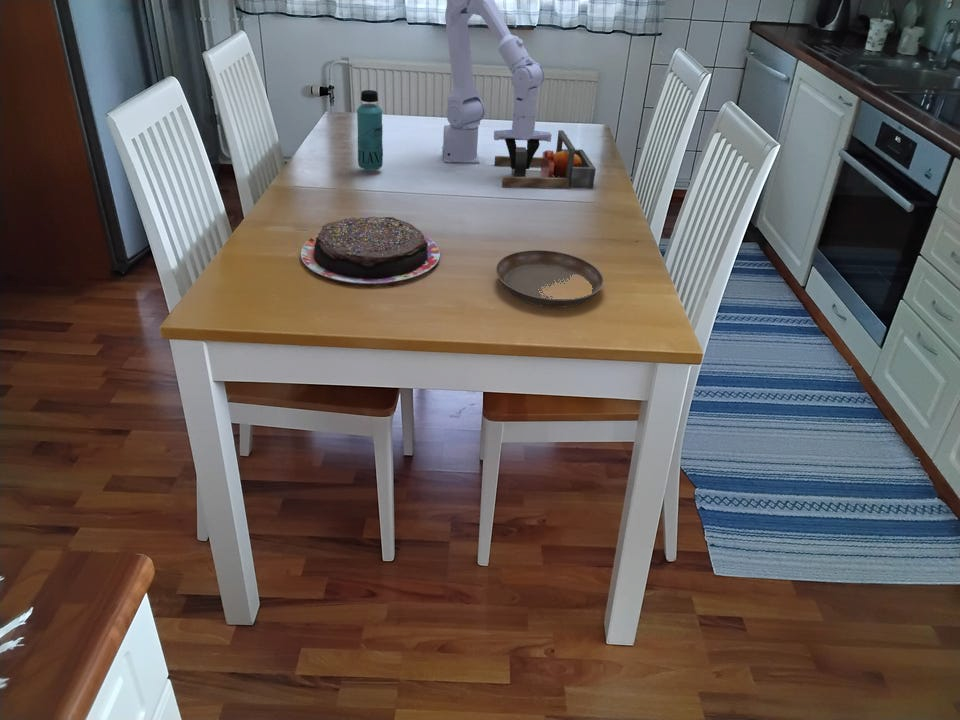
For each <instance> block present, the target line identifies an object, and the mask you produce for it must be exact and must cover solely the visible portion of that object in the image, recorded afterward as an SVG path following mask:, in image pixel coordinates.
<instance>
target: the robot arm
mask: <svg viewBox="0 0 960 720" xmlns="http://www.w3.org/2000/svg"><path fill="white" fill-rule="evenodd" d="M444 13H445V14H444V17H445V18H444V19H445V27H446V36H447V46H448V53H449V61H450V63H449V64H450V70H451V80H452V81H451V82H452V91H451V92H450V93H449V95H448V97H447V99H446V100H447V106H446V111H445V113H446V118H447V119H446V120H447V121H448V123H449V124H446V125H444V126H443V136H442V137H443V140H442V141H443V142H442V144H443V145H442V147H441V148H442V151H441V153H442V156H443V161H444V162H445V163H466V164H470V163H471V164H479V163H480V158H479V156H478V140H479V126H480V125H481V121H482V120H483V119H484V118H485V115H486V108H485V104H484V102H483V100H482V99H483V98H482V94H481V91H479V90H478V88H476V87H475V81H474V72H473V63H472V62H473V61H472V54H471V53H472V52H471V51H472V50H471V45H470V44H471V41H470V34H469V33H470V31H469V23H468V22H469V21H470V19H471V18H472V16H473V15H476V16H480V17H481V18H482V20H483V21H484V23H485V24H486V25H487V27H488V28H489V30H490V31H491V33H492V34H493V36H494V37H495V39H496V40H497V41H498V43H499V44H498V53H499V54H500V56H501V58H502V60H503V61H504V63H505V65H506V66H507V67H508V69H509V71H510V73H511V76H510V81H511V82H510V83H511V84H512V86H513V95H514V101H513V113H512V125H511V129H501V130H493V140H494V141H499V140H501V141H502V140H504V143H506V144H505V145H506V148H507V151H508V156H510V166H509V167H510V168H511V170H512V169H514V165H515V152H516V147H517V143H516V141H526V150H527V152H528V154H527V165H526V170H530V167H529V166H530V163H531V161H532V158H533V157H535V154H536V152H537V150H539V147H540V142H549V143H550V142H552V133H551V132H550V131H542V130H541V131H540V130H535V128H536V127H535V126H536V118H537V108H538V99H539V98H538V96H539V89H540V86H541V85H542V84H543V83H544V80H545V71H544V69H543V66H542V65H541V64H540V63H538V62H536V61H535V60H534V59H533V58H532V57H531V56H530V54H529V53H528V50H527V49H526V47H525V46H524V41H523V39H522V38H519V36H517V35H514V34H512V33H511V32H510V29H509V26H507V24H506V22H505V20H504V17H503V16H502V14H501V11H500V10H499V7H498V5H497V4H496V2H495V0H446V7H445V12H444Z"/></svg>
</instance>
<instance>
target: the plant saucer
mask: <svg viewBox="0 0 960 720" xmlns="http://www.w3.org/2000/svg"><path fill="white" fill-rule="evenodd" d="M495 274H496V275H497V278H498V280H499V281H500V283H501V284H502V285H503V287H504V288H505V289H506V290H507V291H508V292H509V293H511V294H512V295H513V296H514V297H516V298H518V299H519V300H522V301H523V300H524V301H523V302H525V303H528V302H529V303H528V304H531V303H532V305H535V304H536V305H535V306H539V305H542V306H541V307H544V306H550V307H549V308H565V307H564V306H569V307H572V305H574V306H577V305H581V304H582V303H584V302H587V301H588V300H590V299H591V298H593V297H594V296H596V294H597V293H598V292H599V291H600V290H602V287H604V286H603V285H604V280H605V279H604V276H603V274H602V272H601V271H600V270H599V269H598V268H597V267H596V266H595V265H593V264H592V263H591V262H589V261H586V260H585V259H583V258H581V257H578V256H575V255H571V254H569V253H564V252H559V251H553V250H540V249H539V250H538V249H533V250H531V249H530V250H522V251H517V252H514V253H510V254H508V255H506V256H504V257H503V258H501V259H500V260H499V261H498V262H497V264H496V265H495ZM573 274H574V275H575V274H577V275H580V276H582V277H584V278H585V279H586V280H587V281H589V283H590V284H591V285H592V288H593V289H592V294H590V295H587V296H584V297H580V298H575V299H552V298H553V297H552V296H550V297H552V298H551V299H550V298H549V297H548V296H546V295H545V294H544V293H543V291H542V289H543V288H542V289H541V287H542V286H543V287H544V286H545V287H546V286H547V284H548V286H549V287H550V286H551V285H552V283H553V285H554V283H555V281H556V282H557V283H559V282H560V280H561V282H562V283H563V282H564V280H565V281H566V279H567V278H568V279H569V280H570V275H571V277H572V275H573ZM563 278H564V280H563ZM559 279H560V280H559ZM554 280H555V281H554ZM558 280H559V281H558ZM562 280H563V281H562ZM567 281H568V280H567ZM567 281H566V282H567ZM545 284H546V285H545ZM549 284H550V285H549ZM560 284H561V283H560ZM564 284H565V283H564ZM545 287H544V288H545ZM538 289H539V290H538ZM546 290H547V289H546ZM539 291H542V292H540V293H543V294H544V295H545V296H546V297H545V296H544V295H543V296H544V297H545V298H544V297H543V296H542V295H541V294H540V293H539ZM541 296H542V297H543V298H542V297H541ZM548 298H549V299H548ZM576 304H577V305H576Z"/></svg>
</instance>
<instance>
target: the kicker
mask: <svg viewBox="0 0 960 720" xmlns="http://www.w3.org/2000/svg"><path fill="white" fill-rule="evenodd" d="M554 153H555V152H554V151H553V150H549V149H548V150H544V151H543V152H542V156H541V157H542V165H541V167H540V170H538V169H536V170H533V169H526V165H527V154H528V152H527V147H525V146H521V147H520V146H516V152H515V165H514V169H511V170H510V173H511V176H512V177H545V178H554V176H553V172H554V163H553V161H552V159H553V155H554Z"/></svg>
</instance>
